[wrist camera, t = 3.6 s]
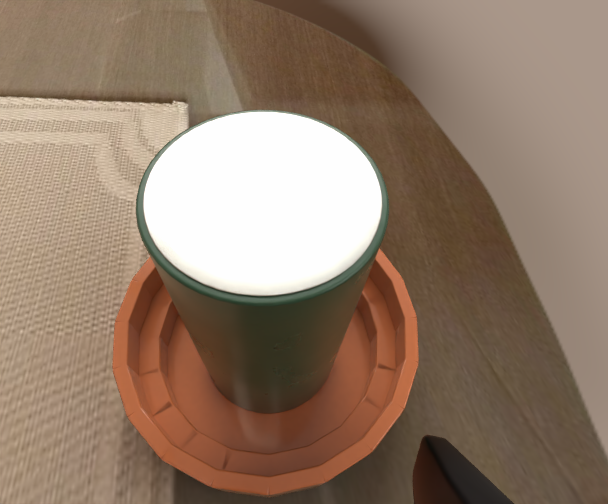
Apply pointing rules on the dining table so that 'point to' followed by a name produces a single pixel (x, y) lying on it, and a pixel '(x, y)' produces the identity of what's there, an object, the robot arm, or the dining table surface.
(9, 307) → the dining table surface
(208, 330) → the tin
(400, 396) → the bowl
